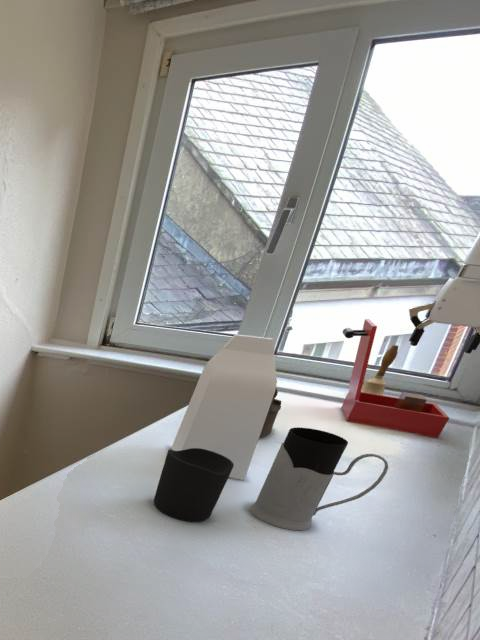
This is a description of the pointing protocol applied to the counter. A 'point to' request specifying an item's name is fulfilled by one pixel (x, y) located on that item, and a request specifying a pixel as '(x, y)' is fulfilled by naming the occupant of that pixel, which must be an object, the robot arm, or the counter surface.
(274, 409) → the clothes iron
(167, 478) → the pen holder
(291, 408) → the counter surface
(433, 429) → the red shallow rectangular box
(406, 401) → the block
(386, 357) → the hand bell
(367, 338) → the lid
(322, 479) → the glass holder
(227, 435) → the milk
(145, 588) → the counter surface
